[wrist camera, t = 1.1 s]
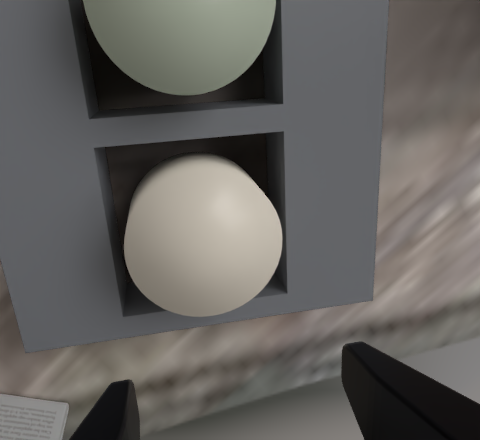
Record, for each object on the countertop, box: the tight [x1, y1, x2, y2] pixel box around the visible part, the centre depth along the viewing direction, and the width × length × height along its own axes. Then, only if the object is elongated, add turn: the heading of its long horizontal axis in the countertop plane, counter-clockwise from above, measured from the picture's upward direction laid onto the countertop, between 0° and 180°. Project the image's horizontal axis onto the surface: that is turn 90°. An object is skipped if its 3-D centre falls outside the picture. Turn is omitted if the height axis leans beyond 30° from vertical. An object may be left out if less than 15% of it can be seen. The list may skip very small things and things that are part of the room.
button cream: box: [124, 152, 282, 317], centre depth 17 cm, size 6×6×3 cm
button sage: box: [83, 0, 276, 95], centre depth 14 cm, size 6×6×3 cm
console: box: [0, 0, 389, 353], centre depth 16 cm, size 15×25×3 cm, turn 3°
